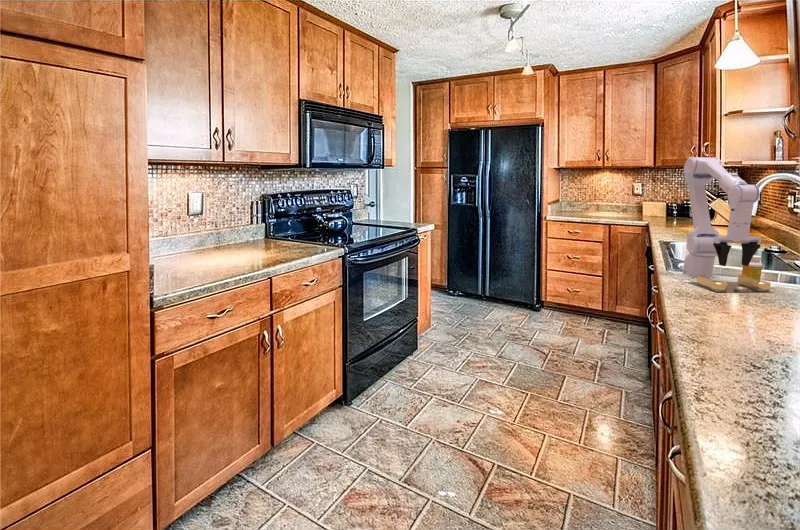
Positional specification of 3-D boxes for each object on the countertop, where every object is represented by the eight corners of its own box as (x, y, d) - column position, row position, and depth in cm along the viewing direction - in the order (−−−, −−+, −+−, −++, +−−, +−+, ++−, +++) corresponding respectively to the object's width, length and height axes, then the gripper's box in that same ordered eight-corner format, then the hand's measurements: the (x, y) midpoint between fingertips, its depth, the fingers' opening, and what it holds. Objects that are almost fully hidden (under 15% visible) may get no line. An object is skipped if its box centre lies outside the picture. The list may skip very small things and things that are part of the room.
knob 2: (773, 291, 149) (774, 282, 148) (759, 291, 149) (761, 282, 148) (745, 283, 160) (747, 274, 159) (733, 283, 160) (734, 274, 159)
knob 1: (729, 291, 148) (731, 282, 148) (716, 292, 148) (717, 282, 147) (705, 283, 159) (706, 274, 158) (692, 283, 159) (693, 274, 158)
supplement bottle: (751, 285, 164) (755, 257, 162) (736, 281, 169) (740, 254, 167) (763, 284, 166) (767, 257, 164) (748, 281, 171) (752, 254, 169)
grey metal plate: (686, 286, 162) (687, 278, 161) (740, 286, 163) (741, 278, 162) (715, 297, 148) (716, 289, 147) (773, 297, 149) (775, 288, 148)
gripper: (726, 224, 148) (720, 267, 150) (771, 224, 149) (765, 267, 151) (710, 222, 155) (705, 263, 157) (753, 222, 156) (748, 263, 158)
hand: (733, 265), depth 155 cm, fingers open, 7 cm apart
